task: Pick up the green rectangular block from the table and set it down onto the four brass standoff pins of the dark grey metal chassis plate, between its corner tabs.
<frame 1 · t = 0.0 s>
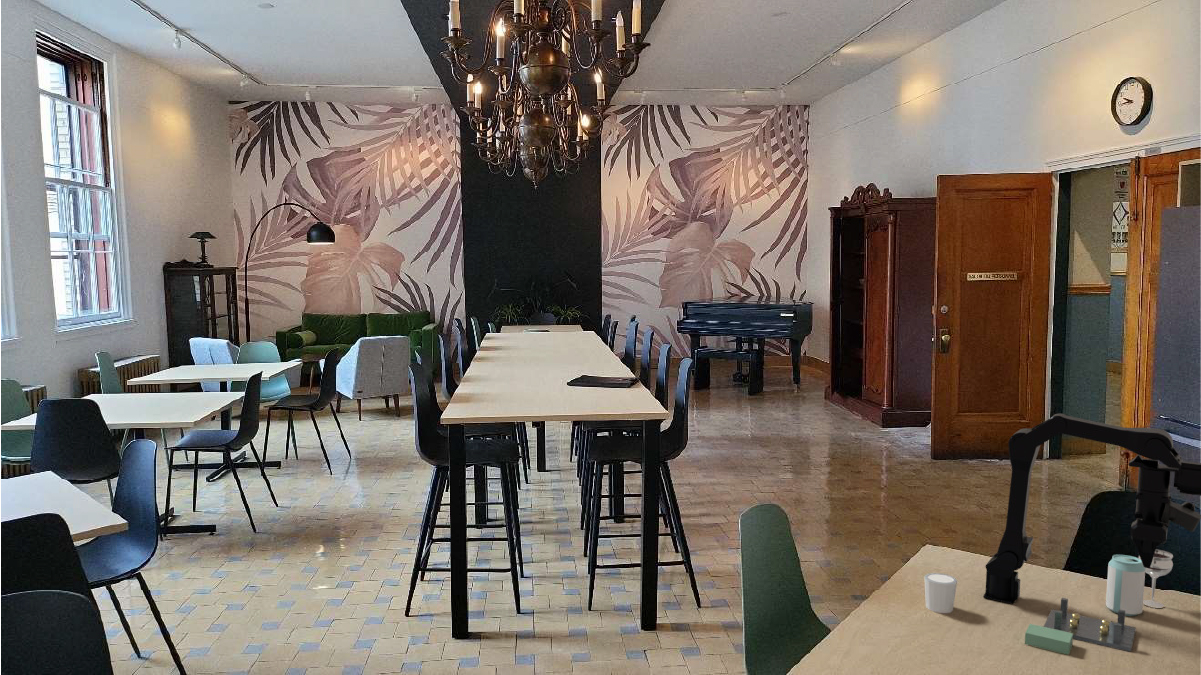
hand: (1148, 561, 186), 15 cm above the table, tool pointing down, fingers open, 9 cm apart
can: (1123, 611, 196), on the table
wineglass: (1152, 605, 200), on the table
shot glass: (939, 609, 197), on the table
chassis: (1089, 631, 185), on the table
green rectangular block: (1048, 646, 179), on the table
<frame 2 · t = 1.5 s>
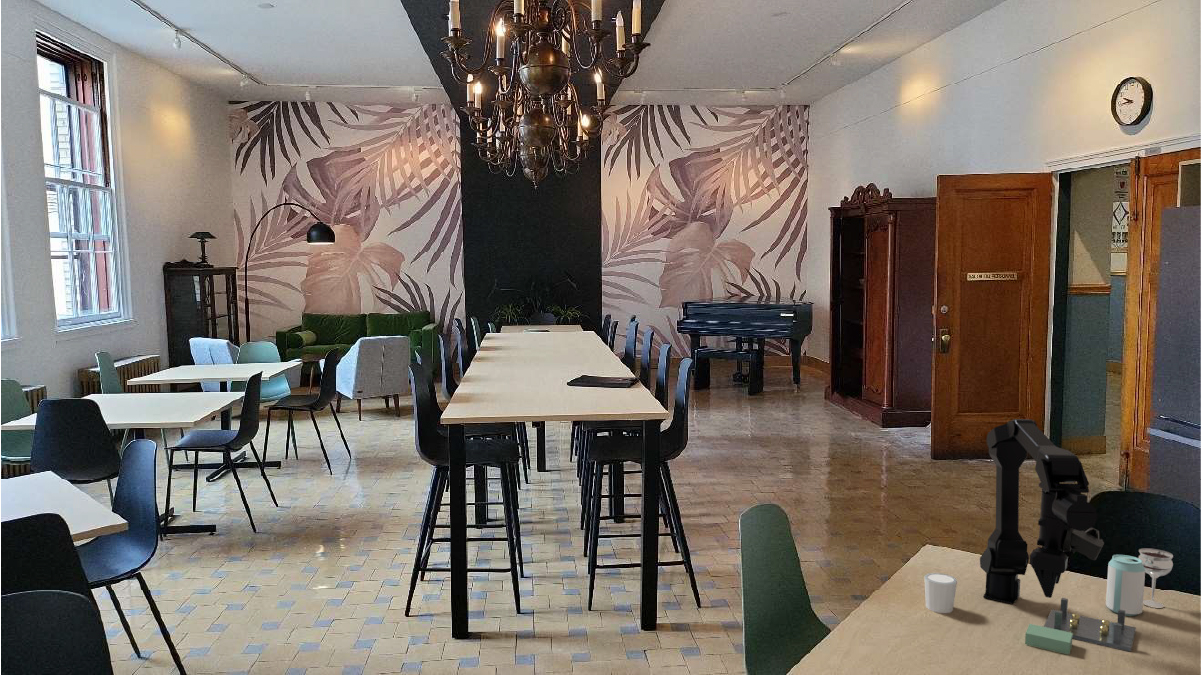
hand: (1051, 590, 178), 11 cm above the table, tool pointing down, fingers open, 9 cm apart
nothing on the table moved.
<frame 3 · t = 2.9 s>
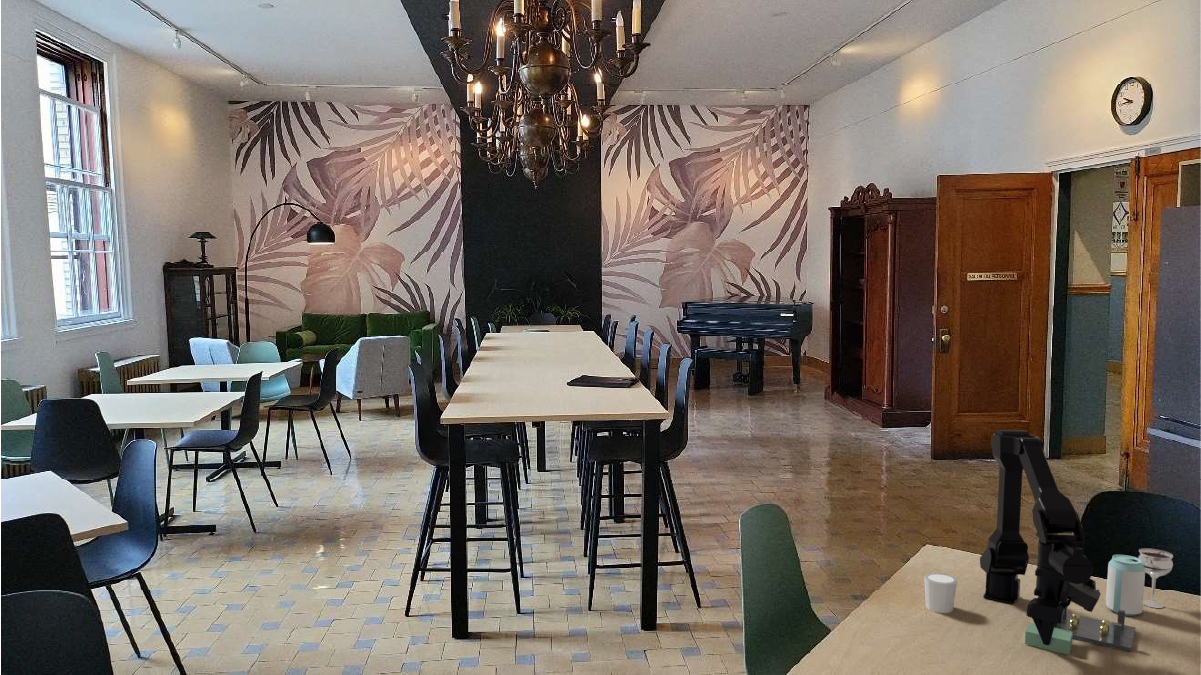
hand: (1048, 639, 179), 1 cm above the table, tool pointing down, fingers closed on green rectangular block, 6 cm apart
green rectangular block: (1048, 644, 179), on the table, touching gripper
everything else where it was.
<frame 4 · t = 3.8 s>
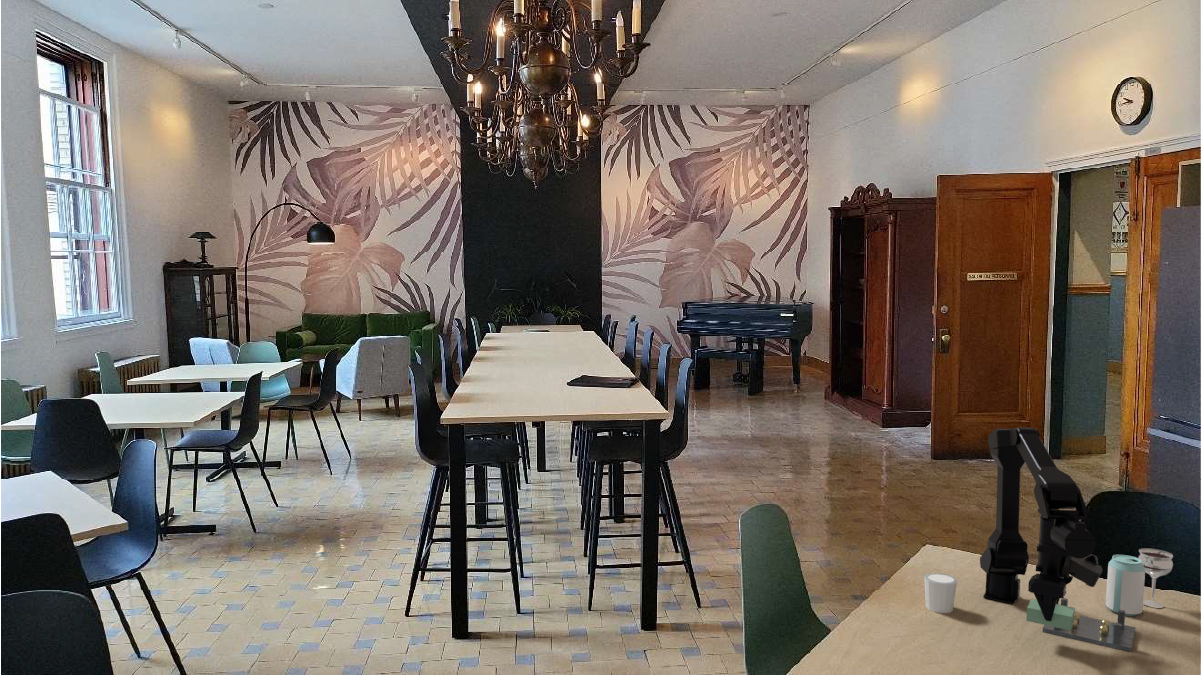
hand: (1050, 615, 178), 6 cm above the table, tool pointing down, fingers closed on green rectangular block, 5 cm apart
green rectangular block: (1050, 620, 178), point 5 cm above the table, touching gripper
everything else where it was.
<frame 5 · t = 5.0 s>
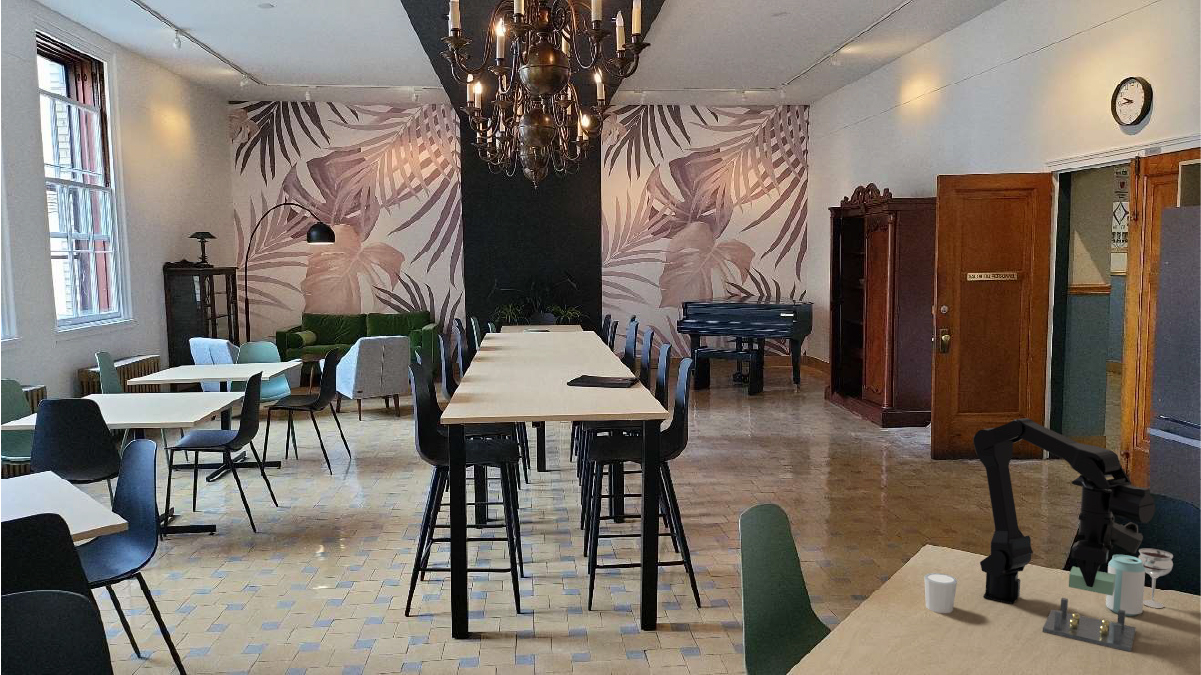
hand: (1091, 582, 184), 11 cm above the table, tool pointing down, fingers closed on green rectangular block, 5 cm apart
green rectangular block: (1091, 587, 184), point 10 cm above the table, touching gripper
everything else where it was.
when the fingers open (4 cm above the table, at t = 6.9 s): green rectangular block stays where it is, resting on chassis.
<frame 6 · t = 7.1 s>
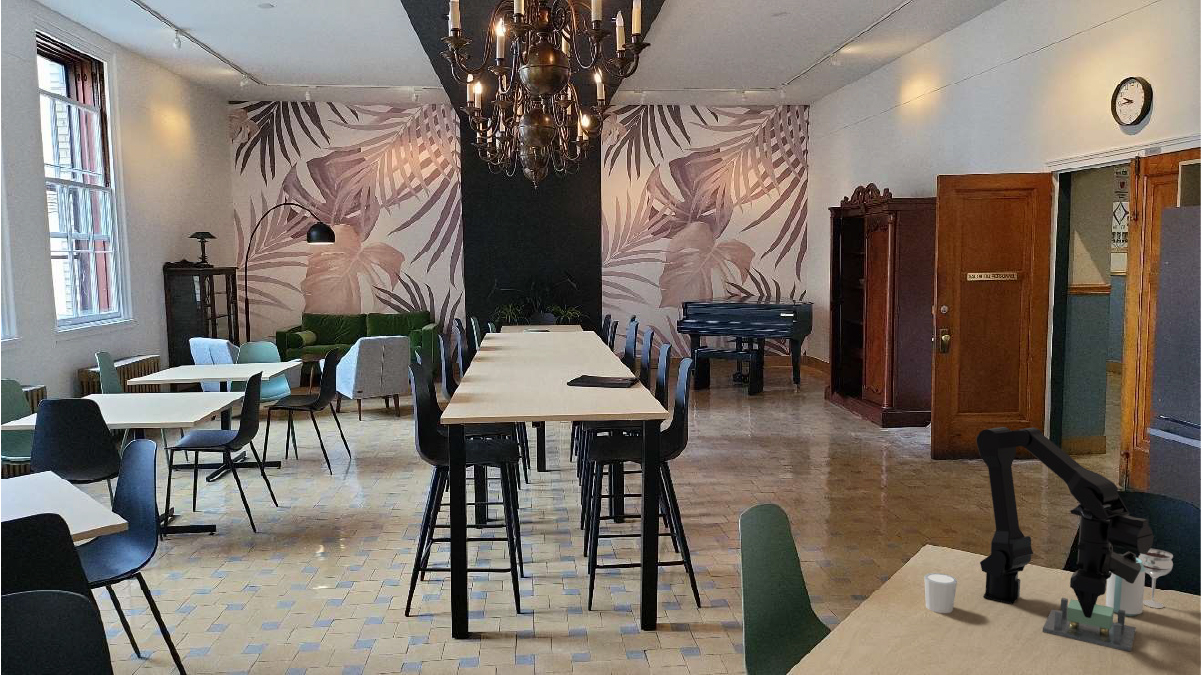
hand: (1090, 611, 185), 4 cm above the table, tool pointing down, fingers open, 7 cm apart
green rectangular block: (1089, 620, 185), point 2 cm above the table, touching chassis
everything else where it was.
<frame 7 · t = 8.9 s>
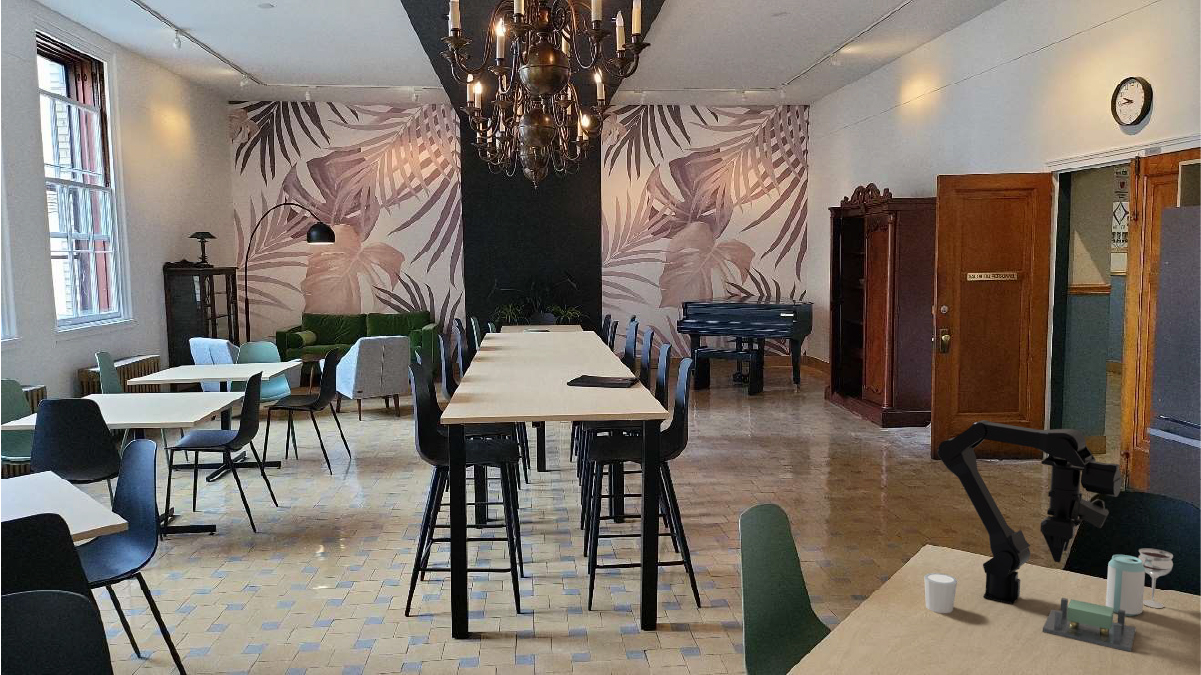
hand: (1060, 556, 194), 13 cm above the table, tool pointing down, fingers open, 9 cm apart
nothing on the table moved.
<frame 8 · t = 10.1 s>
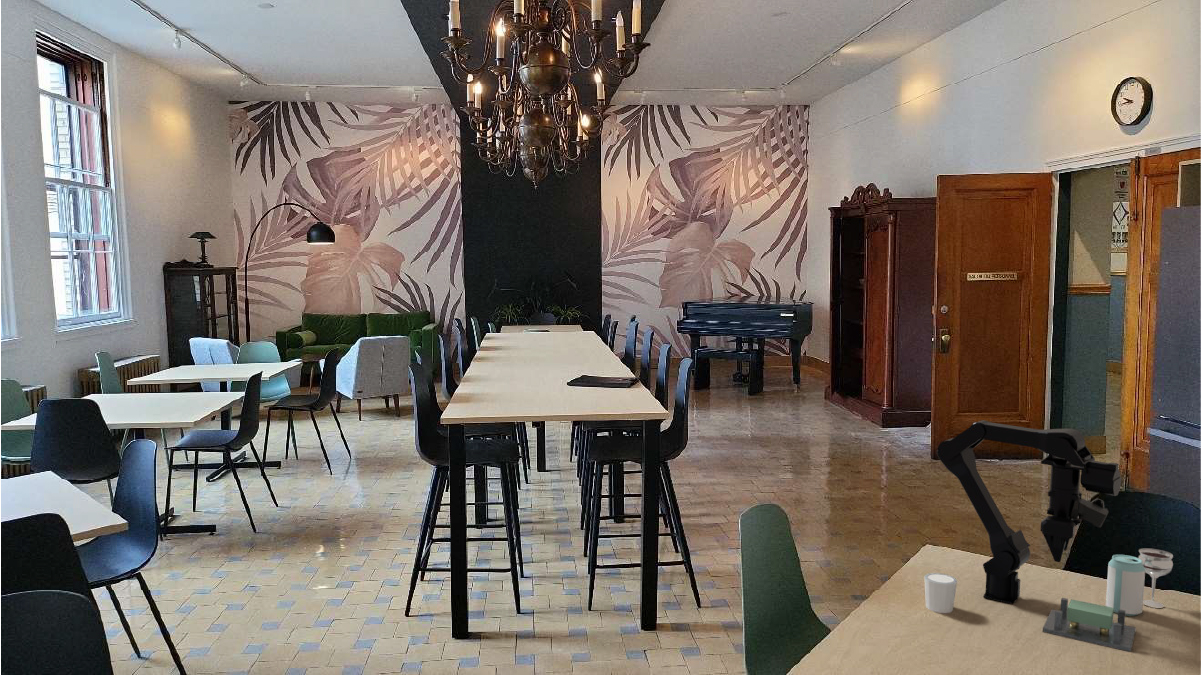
hand: (1060, 555, 194), 13 cm above the table, tool pointing down, fingers open, 9 cm apart
nothing on the table moved.
at the end: green rectangular block 0.0 cm off-centre on the chassis, point 2.4 cm above the chassis's base; green rectangular block tilted 0°; the gripper is holding nothing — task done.
